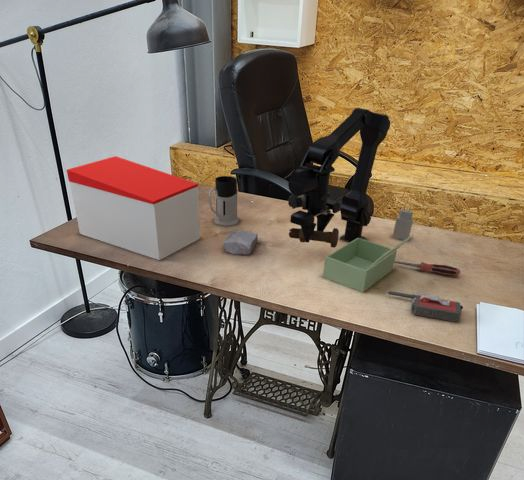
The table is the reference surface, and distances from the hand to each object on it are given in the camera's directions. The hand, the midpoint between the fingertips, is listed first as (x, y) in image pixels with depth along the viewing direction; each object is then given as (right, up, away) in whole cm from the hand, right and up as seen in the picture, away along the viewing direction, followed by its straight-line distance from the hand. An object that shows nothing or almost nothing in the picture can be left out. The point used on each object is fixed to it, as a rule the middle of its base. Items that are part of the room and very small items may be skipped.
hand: (312, 239), depth 148 cm
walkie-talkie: (+28, -24, -20) cm, 41 cm away
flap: (+20, -7, -14) cm, 26 cm away
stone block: (-23, -1, +8) cm, 25 cm away
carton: (+13, -11, -4) cm, 18 cm away
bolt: (0, -1, +1) cm, 1 cm away
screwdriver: (+32, -10, -1) cm, 34 cm away
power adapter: (+33, +5, +19) cm, 38 cm away
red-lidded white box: (-57, +4, +12) cm, 58 cm away
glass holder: (-30, +11, +24) cm, 40 cm away
